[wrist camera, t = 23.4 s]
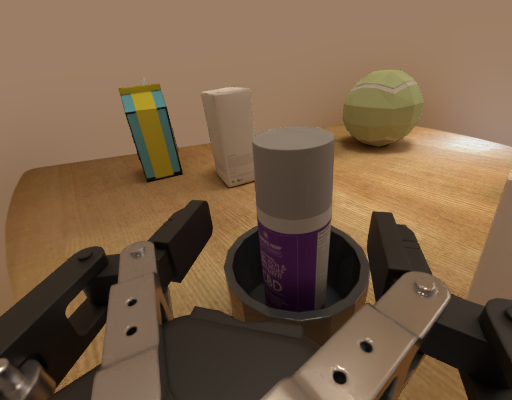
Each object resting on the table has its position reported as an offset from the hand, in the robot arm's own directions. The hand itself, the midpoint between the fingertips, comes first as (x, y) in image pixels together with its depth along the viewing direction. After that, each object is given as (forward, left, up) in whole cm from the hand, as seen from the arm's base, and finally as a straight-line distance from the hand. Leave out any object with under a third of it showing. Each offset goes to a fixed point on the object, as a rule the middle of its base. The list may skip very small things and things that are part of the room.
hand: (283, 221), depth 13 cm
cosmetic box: (+34, -9, -13) cm, 37 cm away
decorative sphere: (+32, -43, -13) cm, 55 cm away
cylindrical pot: (+3, -2, -13) cm, 13 cm away
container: (+3, -2, -12) cm, 13 cm away
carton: (+46, +3, -13) cm, 48 cm away
